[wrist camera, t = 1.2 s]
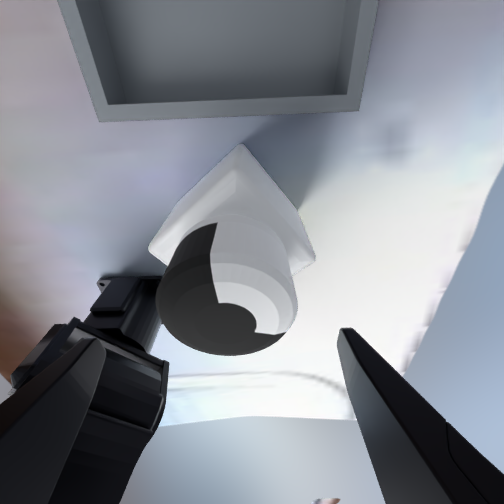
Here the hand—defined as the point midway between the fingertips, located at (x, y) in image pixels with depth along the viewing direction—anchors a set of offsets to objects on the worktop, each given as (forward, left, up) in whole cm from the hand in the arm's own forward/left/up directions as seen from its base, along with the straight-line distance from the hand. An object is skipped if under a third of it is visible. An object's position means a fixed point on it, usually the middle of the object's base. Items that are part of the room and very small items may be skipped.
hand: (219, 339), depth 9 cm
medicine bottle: (0, 0, -13) cm, 13 cm away
